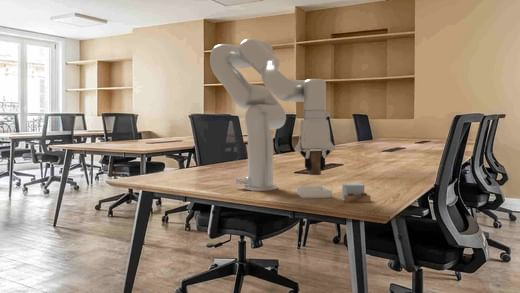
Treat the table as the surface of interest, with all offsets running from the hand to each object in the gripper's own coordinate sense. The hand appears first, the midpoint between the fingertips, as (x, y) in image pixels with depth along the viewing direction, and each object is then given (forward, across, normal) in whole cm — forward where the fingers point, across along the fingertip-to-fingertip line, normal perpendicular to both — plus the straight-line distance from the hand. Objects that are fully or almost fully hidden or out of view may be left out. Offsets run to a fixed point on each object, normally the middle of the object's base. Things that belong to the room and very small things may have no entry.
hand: (314, 169), depth 145 cm
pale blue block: (+9, -11, +8) cm, 16 cm away
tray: (+9, 0, 0) cm, 9 cm away
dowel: (+2, 0, 0) cm, 2 cm away
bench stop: (+9, -11, +12) cm, 18 cm away
